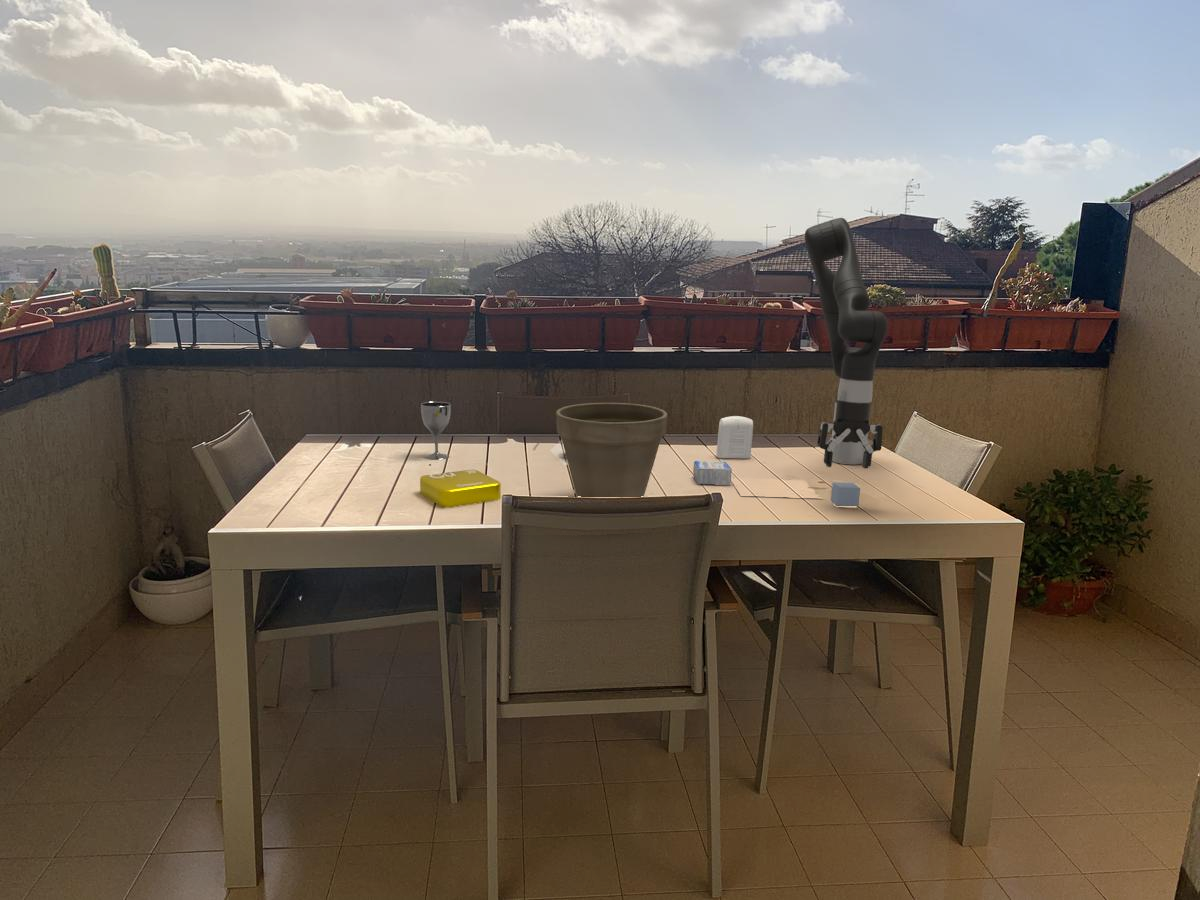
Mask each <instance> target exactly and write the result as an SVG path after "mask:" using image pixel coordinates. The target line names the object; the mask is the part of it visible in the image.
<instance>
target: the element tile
mask: <svg viewBox="0 0 1200 900" xmlns="http://www.w3.org/2000/svg"><path fill="white" fill-rule="evenodd" d="M419 483H420V485H419V487H420V495H422V496H424V497H425V498H426V499H428V500H429V501H431V502H433V503H434V504H435V503H436V504H435V505H437V506H438V505H439V507H440V506H441V507H440V508H445V507H449V508H455V507H454V506H457V507H460V506H459V505H463V506H467V505H466V504H470V505H474V504H473V503H477V504H480V503H479V502H483V503H485V502H484V501H490V500H496V501H499V500H501V493H502V492H501V489H502V488H501V485H502V484H501V482H500V481H499V480H497V479H495V478H493V477H491V476H488V475H487V474H486V473H484V472H481V471H479V470H477V469H465V470H456V471H451V472H450V471H449V472H441V473H440V472H439V473H435V472H434V473H430V474H425V475H421V476H420V478H419ZM498 499H499V500H498ZM490 502H491V501H490Z"/></svg>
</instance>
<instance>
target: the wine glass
mask: <svg viewBox="0 0 1200 900" xmlns="http://www.w3.org/2000/svg"><path fill="white" fill-rule="evenodd" d="M451 410H452V409H451V403H450V402H447V401H425V402H422V403H421V404H420V413H421V418H422V422H423V425H424V426H425V427H426V428H427V429H428V431H430V433H431V435H432V436H433V440H434V441H433V442H434V452H433V453H429V454H425V455H424V456H423V458H424V459H426V460H434V461H438V460H440V461H441V460H447V459H449V458H450V455H449V454H445V453H440V452H439V438H440V436H441V434H442V432H443V431H444V429H445V428H446V427H448V425H449V423H450V419H451Z"/></svg>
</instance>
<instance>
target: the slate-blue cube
mask: <svg viewBox="0 0 1200 900" xmlns="http://www.w3.org/2000/svg"><path fill="white" fill-rule="evenodd" d="M860 494H861V488H860V486H858V485H857V484H856V483H854V482H847V481H844V482H842V481H832V485H831V493H830V502H831V501H832V502H833V503H834V504H835V505H836V506H858V507H859V503H860V502H859V501H860V496H861V495H860Z"/></svg>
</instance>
